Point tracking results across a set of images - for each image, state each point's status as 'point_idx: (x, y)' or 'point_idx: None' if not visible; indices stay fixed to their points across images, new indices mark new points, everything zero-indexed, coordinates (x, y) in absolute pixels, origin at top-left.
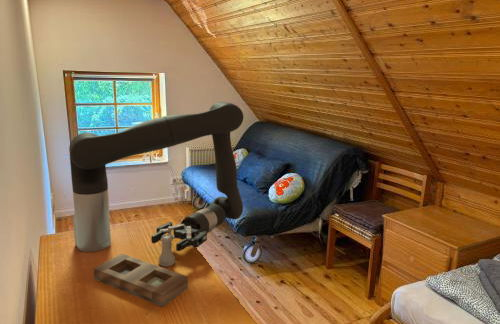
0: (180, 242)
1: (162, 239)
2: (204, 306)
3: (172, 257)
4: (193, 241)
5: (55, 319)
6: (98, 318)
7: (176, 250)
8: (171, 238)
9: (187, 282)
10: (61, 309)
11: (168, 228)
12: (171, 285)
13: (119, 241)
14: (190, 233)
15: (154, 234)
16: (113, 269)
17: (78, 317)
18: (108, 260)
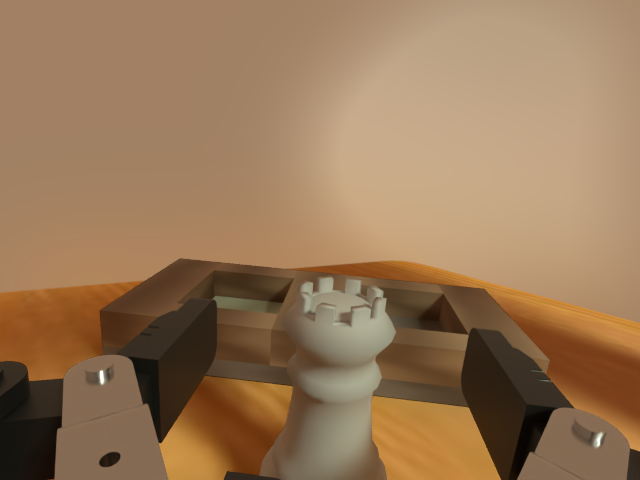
0: (185, 309)
1: (351, 293)
2: (30, 314)
3: (271, 464)
4: (33, 385)
5: (381, 261)
6: (312, 267)
7: (215, 351)
8: (294, 315)
9: (103, 335)
10: (402, 270)
11: (562, 470)
12: (164, 277)
13: None
14: (73, 426)
15: (511, 346)
16: (447, 318)
17: (350, 265)
18: (510, 318)
